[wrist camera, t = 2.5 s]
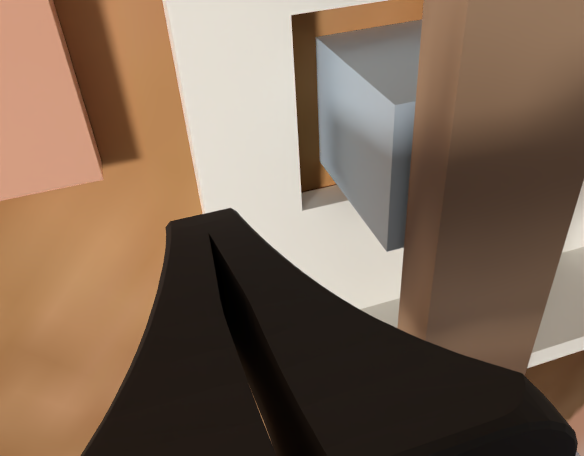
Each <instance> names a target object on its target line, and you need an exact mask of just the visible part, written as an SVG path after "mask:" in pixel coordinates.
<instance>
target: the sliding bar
mask: <svg viewBox="0 0 584 456" xmlns="http://www.w3.org/2000/svg"><path fill="white" fill-rule="evenodd" d="M583 181H584V0H424V4H423V16H422V29H421V41H420V54H419V66H418V78H417V91H416V103H415V116H414V128H413V141H412V153H411V165H410V178H409V190H408V203H407V215H406V228H405V240H404V252H403V265H402V277H401V290H400V302H399V315H398V327H397V328H398V329H400V330H402V331H404V332H406V333H409V334H411V335H413V336H415V337H418V338H420V339H422V340H425V341H427V342H430V343H433V344H435V345H438V346H441V347H443V348H446V349H448V350H451V351H454V352H456V353H459V354H462V355H465V356H468V357H471V358H475V359H478V360H481V361H484V362H488V363H491V364H494V365H497V366H501V367H504V368H507V369H510V370H513V371H517V372H520V373H522V374H523V375H524V376H525V373H526V370H527V367H528V363H529V360H530V357H531V353H532V350H533V347H534V343H535V340H536V337H537V334H538V330H539V327H540V324H541V320H542V317H543V314H544V310H545V307H546V304H547V300H548V297H549V294H550V290H551V287H552V284H553V280H554V277H555V274H556V270H557V267H558V264H559V260H560V257H561V254H562V250H563V247H564V244H565V240H566V237H567V234H568V230H569V227H570V224H571V220H572V217H573V214H574V211H575V207H576V204H577V201H578V197H579V194H580V191H581V187H582V184H583Z"/></svg>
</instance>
